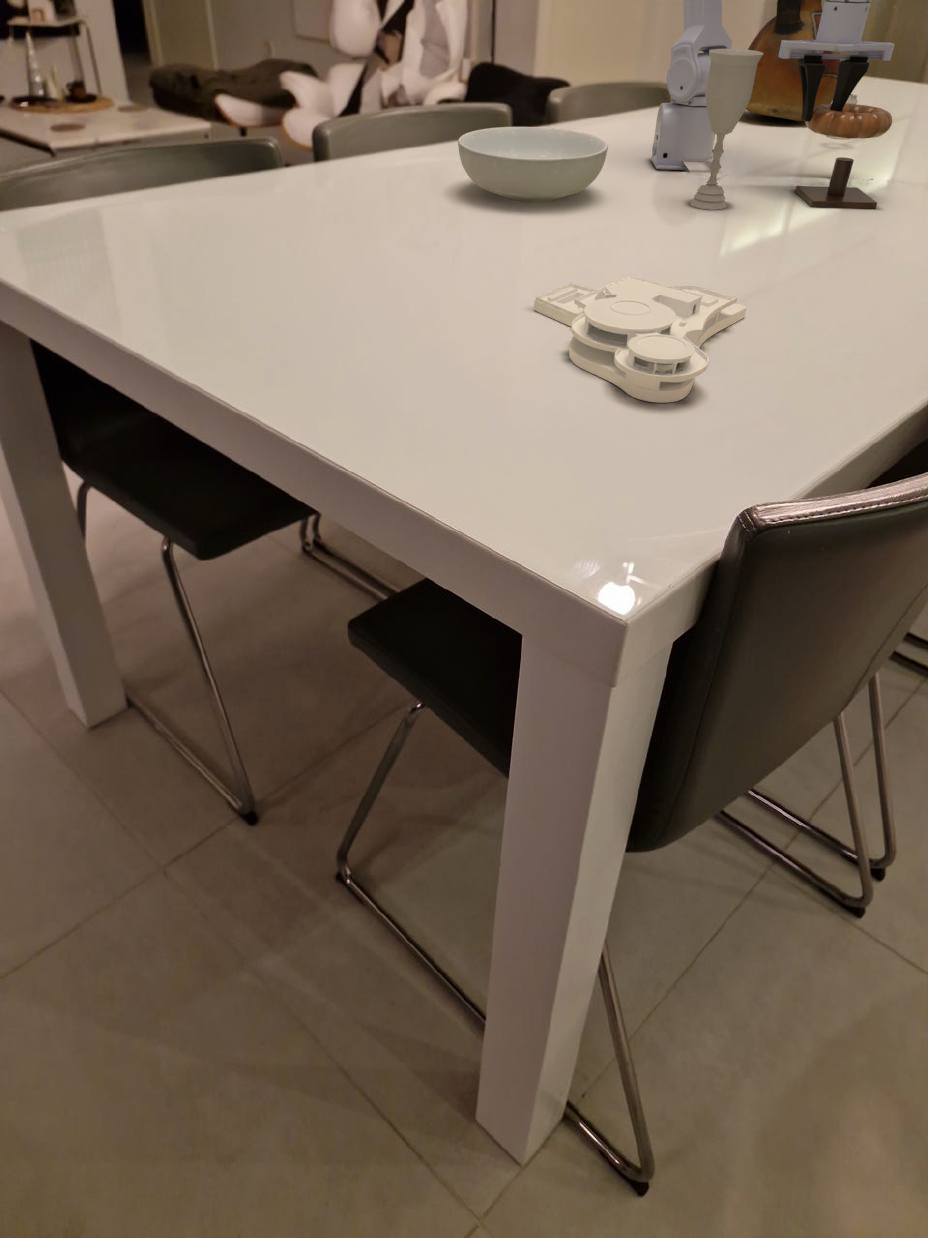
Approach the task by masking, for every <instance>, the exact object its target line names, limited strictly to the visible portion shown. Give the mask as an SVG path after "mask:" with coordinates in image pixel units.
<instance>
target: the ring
mask: <svg viewBox="0 0 928 1238" xmlns="http://www.w3.org/2000/svg"><path fill="white" fill-rule="evenodd" d="M831 104H832V103H831ZM831 104H820V105H817V106H815V107H814V109H813V114H812V117H811V120H810V121H804V123H805V125H806V128H807V129H809V130H810V131H811V132H813V133H815V134H819V135H822V136H833V137H841V138H851V139H862V140H863V139H874V138H879V137H881V136H883V135H884V134H886V133H887V132H889V130H890V129H891V127H892V125H893V116H892V114H891V112H889V111H888V110H886V109H884V108H881V107H878V106H871V105H866V104H858V103H857V104H845V106H844V108H843V110H842V112H840V111H834V110H830V108H831Z"/></svg>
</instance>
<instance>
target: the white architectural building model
mask: <svg viewBox="0 0 928 1238" xmlns="http://www.w3.org/2000/svg"><path fill="white" fill-rule="evenodd" d="M737 301H738V297H736V296H732V295H729V294H725V293H721V292H717V291H713V290H710V289H708V288H704V287H700V286H696V285H691V284H683V285H669V286H668V285H663V284H660V283H656V282H654V281H653V282H652V281H649V280H645V279H641V278H638V277H634V276H627V277H625V278H623V279H620V280H618V281H614V282H611V283H609V284H607V285H604V286H602V287H599V288H597V289H594V288H591V287H588V286H585V285H580V284H578V283H577V284H576V283H573V282H570V283H568V284H567V283H566V284H565V285H563V286H559V287H557V288H555V289H552V290H549V291H547V292H545V293H542V294H539V295H536V296H535V299H534V301H533V311H535V312H537V313H539V314H541V315H544V316H545V317H548V318H550V319H553V320H555V321H557V322H560V323H561V324H563V325H565V326H568V327H570V329H571V330H570V331H571V334H572V335H573V336H572V337H571V338H570V341H569V351H568V356H569V359H570V361H571V362H572V363H573V364H574V365H575V366H577V367H578V368H580V369H582V370H584V371H586V372H588V373H590V374H593V375H595V376H596V377H599V378H601V379H603V380H606V381H607V382H609V383H612V384H613V385H615V386H617V387H618V388H620V389H621V390H622V391H623V392H625V393H626V394H627V395H629V396H630V397H632V398H634V399H637V400H639V401H643V402H644V401H645V402H649V403H659V404H660V403H661V404H664V403H668V404H669V403H674V402H679V401H681V400H683V399H685V398H686V397H688V395H689V394H690V393H691V391H692V389H693V385H694V380H695V378H697V377H699V376H700V375H702V374H703V373H705V372H706V371H707V369H708V367H709V362H710V357H709V355H708V354H707V353H705V351H703V350H702V349H701V347H702V345H703V344H704V343H705V342H706V341H707V340H708V339H709V338H711V337H712V336H714V335H715V334H717V333H718V332H720V331H722V330H724V329H726V328H728V327H730V326H732V325H734V324H735V323H737V322H740V321H741V320H743V319H744V318H745V317H746V313H747V307H748V306H747V305H744V304H740V303H737Z"/></svg>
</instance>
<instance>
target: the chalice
mask: <svg viewBox="0 0 928 1238" xmlns="http://www.w3.org/2000/svg"><path fill="white" fill-rule="evenodd" d="M709 54H710V58H711V65H710V71H709V76H708V82H707V88H706V94H705V96H706V106H707V113H708V118H709V122H710V127H711V131H712V132H714V133H715V135H716V142H715V144H714V146H713V150H712V156H713V159H712V161H711V163H710V164H709V165H708V167H709V169H710V171H709V172H710V177H709V178H708V180H707V181H706V183H705V184H702V185H700V186H699V187H698V188H697V190H696V193H695V194H694V195H693V199H692V200H691V201H690V203H689V205H690V206H692V207H693V208H697V209H700V210H701V209H702V210H711V211H712V210H713V211H716V210H723V209H726V208H727V203H726V196H725V190H724V188H723V187H722V186H721V185H718V184H719V182H718V177H717V176H718V173H719V171H720V170H721V169H722V165H721V157H722V155H723V154H724V153H725V151H724V140H725V137H726V136H728V135H730V134H732V133H733V131H734V130H735V128H736V127H737V124H739V122H740V119H741V118H742V116H743V115H744V113H745V111H746V107H747V104H748V102H749V100H750V98H751V94H752V89H753V84H754V79H755V74H756V69H757V64H758V62H759V60H760V58H761V57H762V55H763V53H762V52H759V51H753V50H748V49H742V48H732V49H713V50H709Z"/></svg>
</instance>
